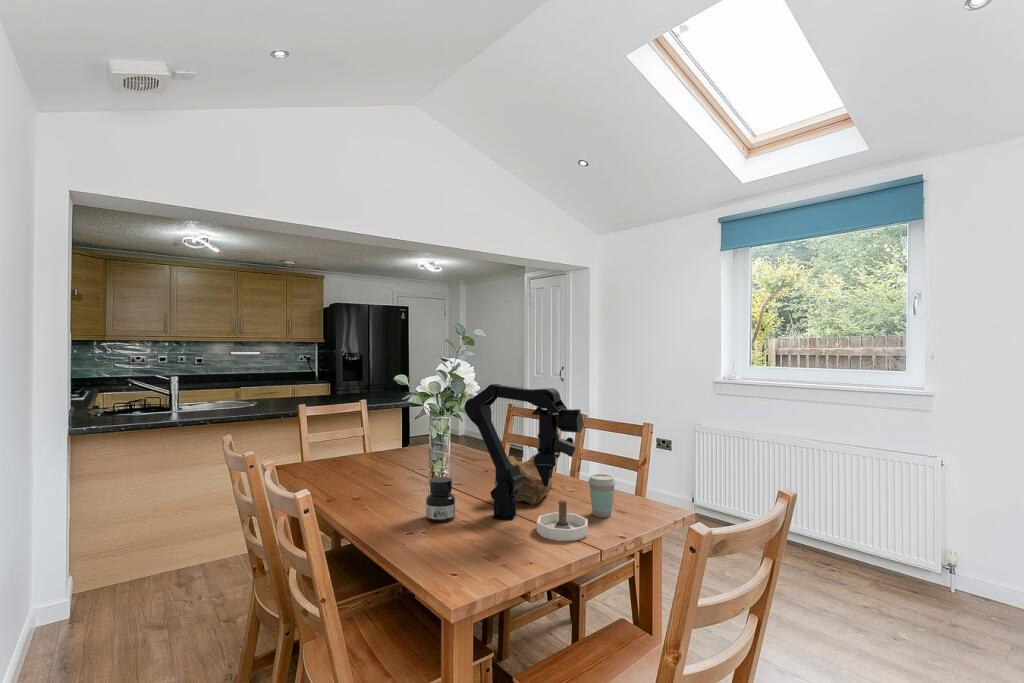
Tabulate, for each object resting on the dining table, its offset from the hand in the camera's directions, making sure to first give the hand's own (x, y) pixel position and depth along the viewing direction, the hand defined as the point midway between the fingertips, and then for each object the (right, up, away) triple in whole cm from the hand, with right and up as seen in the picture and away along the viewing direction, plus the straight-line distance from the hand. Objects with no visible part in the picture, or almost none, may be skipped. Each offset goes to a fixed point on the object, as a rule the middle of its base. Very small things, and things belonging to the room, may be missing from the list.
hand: (547, 482), depth 154 cm
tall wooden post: (+4, -12, -7) cm, 14 cm away
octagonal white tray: (+4, -12, -7) cm, 15 cm away
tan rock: (-5, -13, +24) cm, 28 cm away
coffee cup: (+18, -13, +9) cm, 24 cm away
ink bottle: (-33, -13, +4) cm, 35 cm away
